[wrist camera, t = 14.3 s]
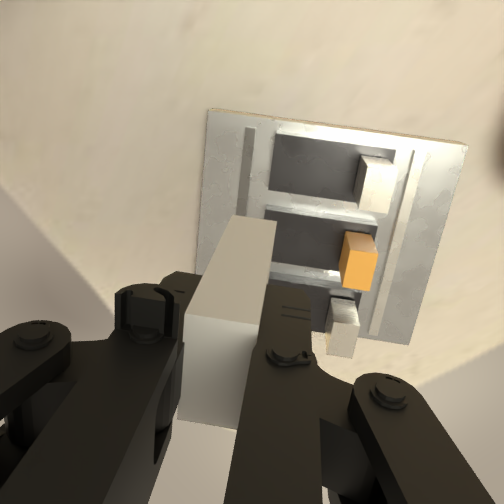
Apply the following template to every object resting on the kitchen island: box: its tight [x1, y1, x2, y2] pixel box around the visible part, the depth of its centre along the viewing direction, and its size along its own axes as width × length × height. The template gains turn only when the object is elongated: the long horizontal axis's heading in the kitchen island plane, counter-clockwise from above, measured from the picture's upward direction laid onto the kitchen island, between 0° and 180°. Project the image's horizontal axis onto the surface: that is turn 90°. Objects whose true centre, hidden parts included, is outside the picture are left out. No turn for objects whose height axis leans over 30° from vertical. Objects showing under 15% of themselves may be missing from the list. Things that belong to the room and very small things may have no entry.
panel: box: [195, 108, 468, 359], centre depth 37 cm, size 20×18×8 cm
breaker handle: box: [339, 231, 378, 291], centre depth 35 cm, size 2×3×4 cm, turn 173°
